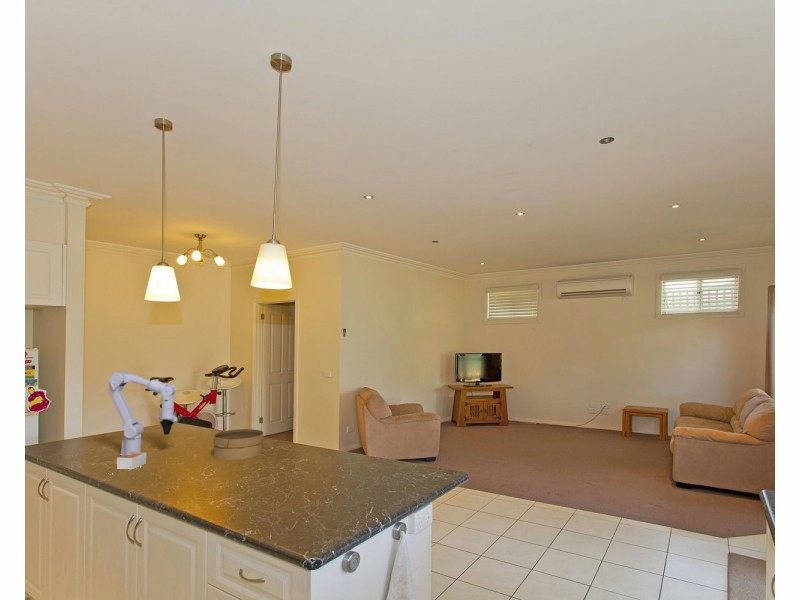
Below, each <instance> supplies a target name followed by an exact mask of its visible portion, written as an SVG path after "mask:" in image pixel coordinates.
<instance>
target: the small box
mask: <svg viewBox="0 0 800 600" xmlns="http://www.w3.org/2000/svg"><path fill="white" fill-rule="evenodd" d="M146 458H147V452H131V453H128V454H125V455H123V456H120V455H119V456H117V457H116V464H117V469H129V470H128V471H133V470H136V469H138V468H137V467H139V466H140V467H143V466H142V465H144V464H146ZM144 466H145V465H144ZM135 468H136V469H135ZM132 469H133V470H132Z"/></svg>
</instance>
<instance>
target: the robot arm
mask: <svg viewBox="0 0 800 600" xmlns="http://www.w3.org/2000/svg"><path fill="white" fill-rule="evenodd" d="M108 382H109V383H108V393H109V396H110V399H111V400H112V402H113V404H114V407H115V408H116V410H117V412H118V415H119V416H120V419H121V420H122V429H123V436H124V438H123V439H122V441H121V451H120V453H119V456H120V455H121V456H123V455H125V454H128V453H131V452H141V451H142V433H143V432H144V429H145V428H144V426H143V425H142V423H140V421H139V420H138V419H137V418H136V417H135V416H134V414H133V412H132V410H131V408H130V406H129V403H128V402H127V400H126V398H125V395H124V393H123V392H122V391H123V389H124V388H125V385H127V383H135V384H139V385H142V386H145V387H147V390H148V391H151V392H153V393H156V394H160V395H161V397H162V398H161V413H160V414H159V415H157V416H156V418H157V420H161V421H159V423H160V425H161V429H162V430H163V435H164V436H167V435H170V434H171V433H170V432H171V429H172V427H173V425H174V424H175V423H177V422H178V417H176V415H174V412H175V411H174V409H175V393H176V391H177V389H176V386H175V385H173V384H168V382H162V381H160V380H159V379H157V378H156V379H152V380H149V379H147V378H144V377H142V376H140V375H137V374H135V373H133V372H128V371H121V372H114V373H112V374H111V375H110V377H109V378H108Z"/></svg>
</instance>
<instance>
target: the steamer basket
mask: <svg viewBox="0 0 800 600" xmlns="http://www.w3.org/2000/svg"><path fill="white" fill-rule="evenodd" d="M263 442H264V431H262V430H261V429H259V430H258V429H254V428H252V429H251V428H250V429H249V428H240V429H230V430H223V431H220V432H219V431H218V432H216V433H215V434H214V435H213V458H214V459H215V458H216V459H215V460H218V459H221V460H220V461H224V460H239V461H241V460H240V459H247V458H252V457H255V456H258V455H260V454H261V453H262V454H263ZM260 456H261V455H260ZM258 457H259V456H258ZM252 459H253V458H252ZM247 460H248V459H247Z"/></svg>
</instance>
